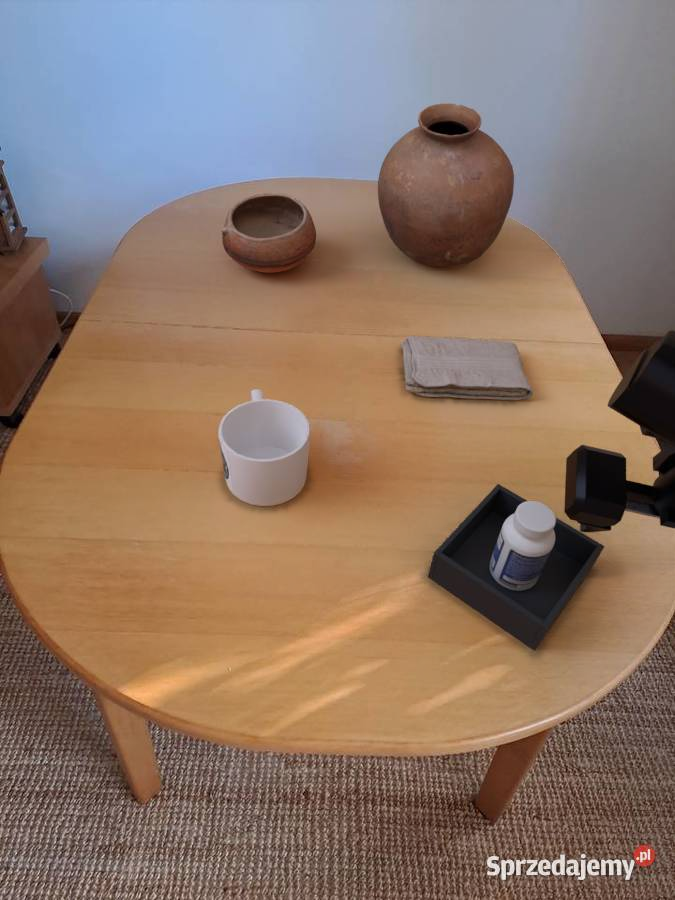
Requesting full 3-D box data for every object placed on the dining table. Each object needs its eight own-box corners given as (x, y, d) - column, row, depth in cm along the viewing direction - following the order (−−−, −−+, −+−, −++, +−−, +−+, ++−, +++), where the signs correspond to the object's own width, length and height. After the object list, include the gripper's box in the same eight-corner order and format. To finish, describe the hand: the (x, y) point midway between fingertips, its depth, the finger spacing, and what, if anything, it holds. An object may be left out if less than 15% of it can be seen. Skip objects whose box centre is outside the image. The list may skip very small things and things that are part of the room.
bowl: (208, 272, 115) (203, 217, 108) (251, 233, 125) (249, 180, 118) (291, 295, 111) (291, 239, 104) (328, 253, 121) (331, 199, 114)
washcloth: (398, 347, 102) (400, 330, 100) (514, 351, 103) (519, 335, 101) (404, 398, 94) (407, 381, 92) (530, 403, 95) (536, 386, 92)
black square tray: (591, 570, 75) (604, 545, 72) (534, 651, 67) (547, 628, 64) (489, 508, 81) (498, 483, 77) (427, 577, 73) (433, 552, 70)
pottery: (475, 223, 132) (504, 85, 114) (512, 287, 116) (552, 138, 98) (361, 225, 129) (373, 84, 112) (383, 290, 113) (401, 138, 96)
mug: (316, 503, 80) (318, 455, 74) (227, 515, 78) (222, 467, 72) (297, 426, 89) (297, 379, 83) (217, 435, 87) (212, 387, 81)
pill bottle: (548, 579, 73) (575, 523, 66) (511, 600, 71) (535, 545, 64) (514, 544, 76) (537, 487, 69) (478, 563, 74) (497, 507, 67)
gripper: (842, 404, 53) (720, 483, 67) (612, 351, 53) (537, 441, 66) (866, 535, 48) (728, 591, 62) (611, 477, 47) (530, 546, 61)
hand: (629, 537), depth 63 cm, fingers open, 9 cm apart
